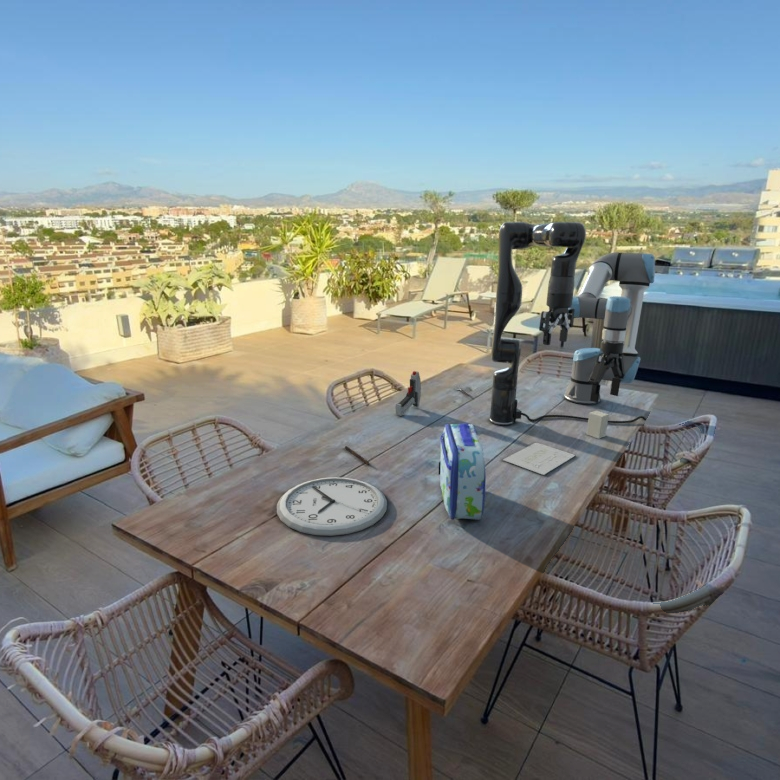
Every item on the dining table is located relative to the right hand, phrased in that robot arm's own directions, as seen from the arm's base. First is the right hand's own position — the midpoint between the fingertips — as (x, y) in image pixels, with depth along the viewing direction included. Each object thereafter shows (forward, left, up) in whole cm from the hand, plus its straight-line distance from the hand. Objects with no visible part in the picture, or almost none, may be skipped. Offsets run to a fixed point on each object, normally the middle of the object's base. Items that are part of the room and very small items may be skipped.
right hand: (604, 398), depth 191 cm
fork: (-38, -55, -14) cm, 68 cm away
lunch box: (+64, -46, -14) cm, 80 cm away
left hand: (+26, -22, +25) cm, 42 cm away
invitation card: (+28, -23, -14) cm, 38 cm away
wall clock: (+74, -79, -14) cm, 109 cm away
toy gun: (-6, -74, -14) cm, 76 cm away
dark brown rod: (+42, -82, -14) cm, 93 cm away
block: (+1, -1, -14) cm, 14 cm away
